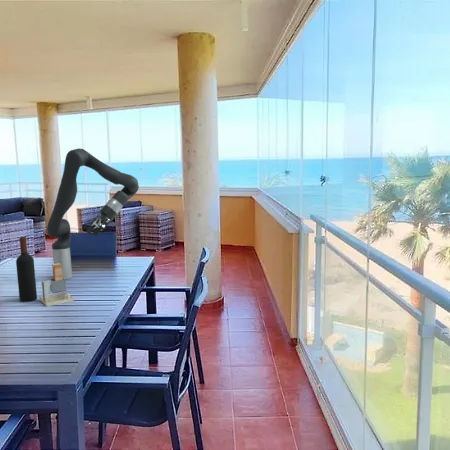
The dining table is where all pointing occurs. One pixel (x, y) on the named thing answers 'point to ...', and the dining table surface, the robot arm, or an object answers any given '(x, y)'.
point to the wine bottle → (26, 274)
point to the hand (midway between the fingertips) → (90, 234)
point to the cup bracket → (54, 288)
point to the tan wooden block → (57, 272)
